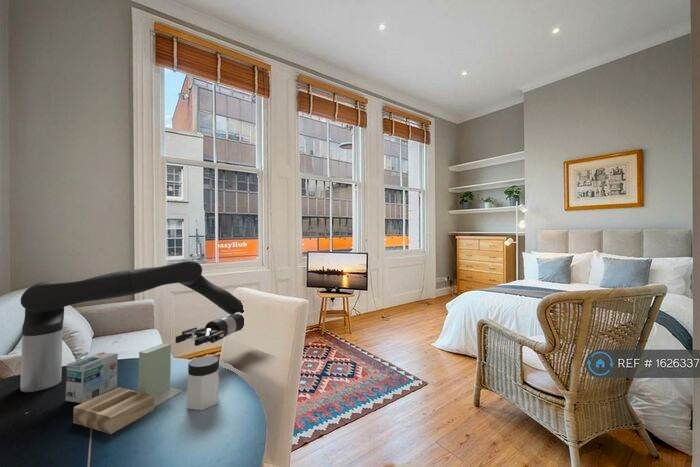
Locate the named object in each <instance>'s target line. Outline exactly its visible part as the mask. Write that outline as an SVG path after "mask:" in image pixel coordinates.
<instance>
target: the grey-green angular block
mask: <svg viewBox="0 0 700 467" xmlns="http://www.w3.org/2000/svg"><path fill="white" fill-rule="evenodd" d="M171 359H172V345H171V343H164V342H163V343H161V344H158V345H154V346H151V347H149V348H146V349H143V350H141V351H139V352H138V388H137V391H138V392H142V393H147V394H151V395H154V397H156V396H158V395H160V394H162V393H164V392H166V391H167V390H169V389H170V388H171Z"/></svg>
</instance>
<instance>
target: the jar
mask: <svg viewBox="0 0 700 467" xmlns="http://www.w3.org/2000/svg"><path fill="white" fill-rule="evenodd" d="M187 367H188V368H187V370H188V371H187V373H188V374H187V380H186V382H187V388H186V394H187V396H186V399H187V400H186V409H187V410H195V411H203V410H206V409H208V408H210V407H213V406H215V405H217V404H218V401H219V391H220V388H219V387H220V377H219V376H220V358H219V357H217V356H215V355H206V356H200V357H196V358H193V359H192V360H189V362H188V364H187Z"/></svg>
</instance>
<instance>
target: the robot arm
mask: <svg viewBox="0 0 700 467" xmlns="http://www.w3.org/2000/svg"><path fill="white" fill-rule="evenodd" d="M202 273H203V268H202V265H201V264H200V263H199V262H197V261H195V260H189V259H188V260H184V261H179V262H176V263H171V264H167V265H161V266H154V267H152V266H151V267H143V268H142V267H141V268H135V269H127V270H119V271H113V272H108V273H104V274H100V275H96V276H94V277H89V278H86V279H81V280H76V281H67V282H55V281H52V280H51V281H49V280H46V281H45V280H43V281H39V282H38V283H35V284H32V285H31V286H30V287H28V288H27V289H26V290H24V292H23V293H22V295H21V297H20V305H21V306H22V308H24V319H23V324H22V327H21V328H22V332H21V333H22V334H21V356H20V357H21V358H20V359H21V360H20V361H21V362H20V383H19V384H20V385H19V387H20V392H23V393H34V392H39V391H43V390H47V389H49V388H52V387H54V386H57V385H59V384H60V383H61V382H62V368H63V364H62V362H63V360H62V359H63V330H64V329H63V328H64V319H65V318H64V317H65V307H68V306H73V305H77V304H80V303H86V302H87V303H88V302H94V301H95V302H96V301H101V300H109V299H116V298H122V297H126V296H132V295H135V294H141V293H143V292H147V291H150V290H153V289H155V288H158V287H161V286H166V285H171V284H172V285H173V284H180V285H182V286H185V287H187V288H189V289H190V290H192V291H195V292H197V294H200V295H201V296H203V297H205V298H206V299H208V300H209V301H210V302H211V303H213V304H214V305H216V306H217V307H218V308H220V309H221V310H223V311H224V312H225V313H227V314H228V315H227V316H223V317H220V318H217V319H214V320H211V321H209V322H207V323H206V324H205V326H204V327H200V328H197V327H196V326H195V327H193V328H189V329H186V330H183V331H181V334H180V335H177V336H175V344H179V343H182V342H184V341H188V340H192V341H194V346H196V347H198V346H200V345H203V344H208V343H210V344H213V343H216V342H219V341H220V340H222V339H224V338H227V337H228V336H230V335H232V334H234V333H236V332H238V331H240V330H241V329H242V328H243V326H244V318H243V316H242V315H240V314H241V313H243V312H244V310H243V305H242V303H241V301H242V300H240V299H238V298H237V297H236V296H234V294H232V293H231V292H229V291H227V290H226V289H224V288H222V287H220V286H218V285H216V284H214V283H212V282H210V280H208V279H207V278H205V277H204V276H203V274H202ZM241 331H242V330H241ZM241 331H240V332H241Z"/></svg>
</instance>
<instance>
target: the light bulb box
mask: <svg viewBox="0 0 700 467" xmlns="http://www.w3.org/2000/svg"><path fill="white" fill-rule="evenodd" d="M118 355H119V354H118V353H116V352H115V353H114V352H108V351H107V352H106V351H100V352H97V353H95V354H92V355H90V356H86V357H84V358H81V359H78V360H76V361H72V362H70V363H67V364H66V379H65V383H66V384H65V385H66V386H65V401H66V402H72V403H79V404H82V403H84V402H86V401H89V400H91V399H93V398H95V397H98V396H100V395H102V394H105V393H107V392H109V391H111V390H114V389H116V388H118V386H117V385H118V383H117V382H118V381H117V380H118V362H119V361H118V357H119V356H118Z"/></svg>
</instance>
